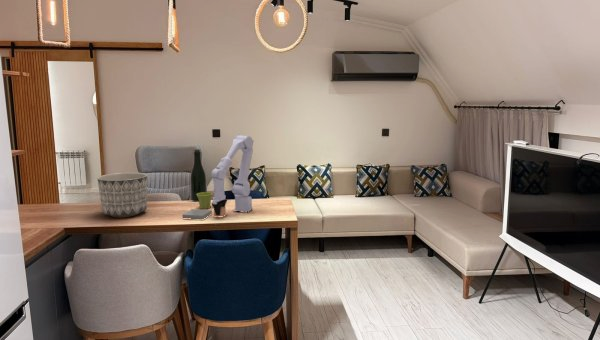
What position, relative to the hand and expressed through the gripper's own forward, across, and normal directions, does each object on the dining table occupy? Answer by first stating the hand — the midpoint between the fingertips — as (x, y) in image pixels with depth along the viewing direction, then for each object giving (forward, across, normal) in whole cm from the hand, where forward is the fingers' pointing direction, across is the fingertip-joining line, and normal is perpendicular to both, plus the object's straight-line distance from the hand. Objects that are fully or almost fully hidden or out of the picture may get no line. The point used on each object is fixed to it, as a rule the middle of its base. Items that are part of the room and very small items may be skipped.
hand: (219, 213), depth 246 cm
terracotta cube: (+2, 0, 0) cm, 2 cm away
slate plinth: (+2, +3, -12) cm, 13 cm away
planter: (+2, +5, -55) cm, 55 cm away
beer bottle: (+2, -36, -28) cm, 46 cm away
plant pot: (+2, -17, -16) cm, 23 cm away
